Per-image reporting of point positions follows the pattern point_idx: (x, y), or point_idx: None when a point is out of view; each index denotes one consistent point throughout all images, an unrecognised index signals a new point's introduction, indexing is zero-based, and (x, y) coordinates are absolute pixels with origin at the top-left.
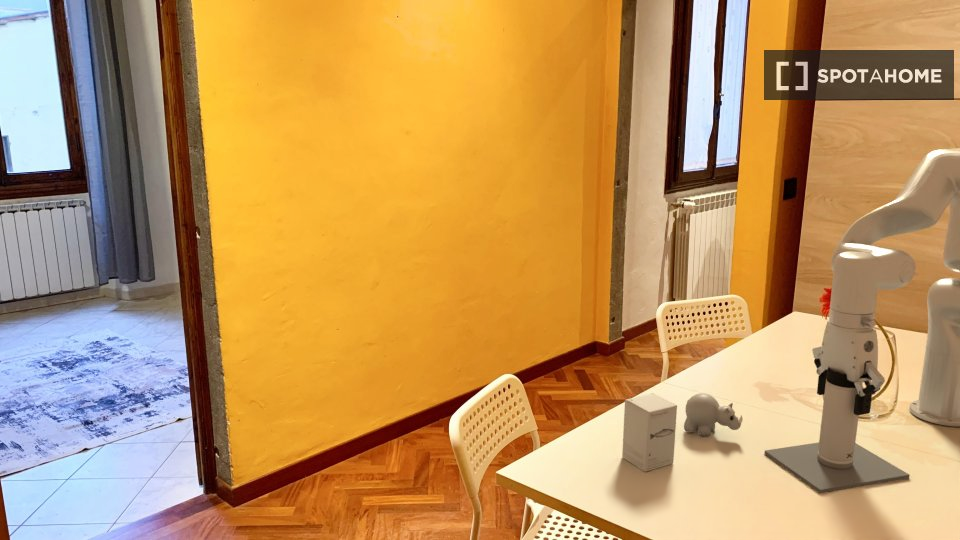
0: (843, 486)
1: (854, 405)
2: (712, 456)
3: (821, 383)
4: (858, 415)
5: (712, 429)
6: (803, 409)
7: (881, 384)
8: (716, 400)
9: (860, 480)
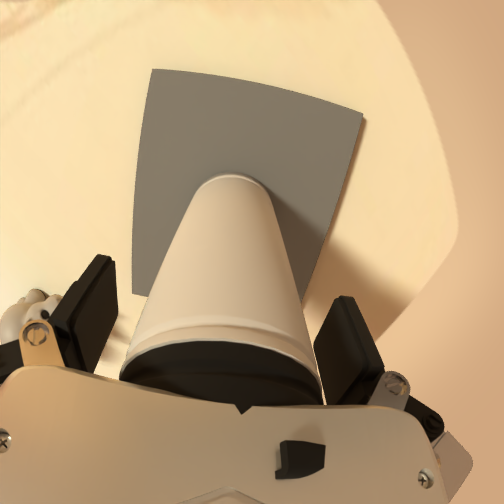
0: (309, 278)
1: (320, 371)
2: (122, 353)
3: (99, 352)
4: (289, 266)
5: (44, 300)
6: (11, 54)
7: (454, 446)
8: (16, 335)
9: (318, 234)
